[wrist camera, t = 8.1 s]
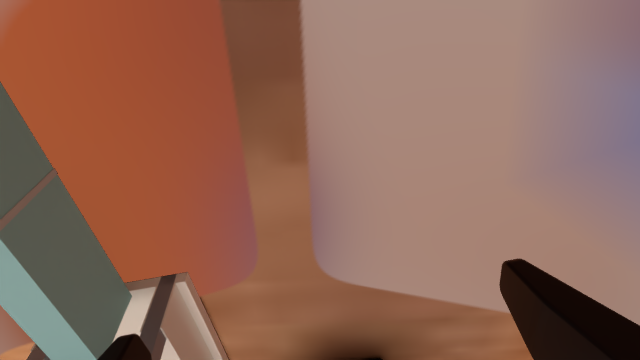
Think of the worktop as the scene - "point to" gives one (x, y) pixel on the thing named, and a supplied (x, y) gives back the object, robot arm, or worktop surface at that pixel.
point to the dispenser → (166, 321)
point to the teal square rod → (51, 254)
